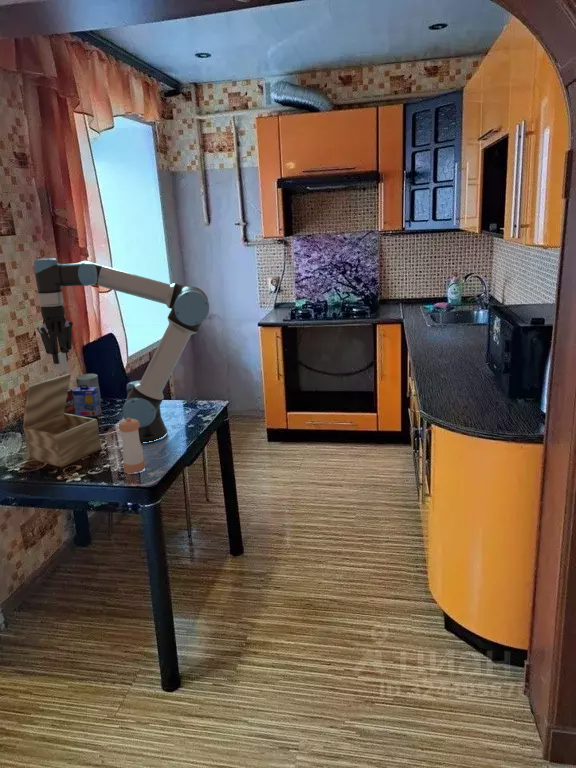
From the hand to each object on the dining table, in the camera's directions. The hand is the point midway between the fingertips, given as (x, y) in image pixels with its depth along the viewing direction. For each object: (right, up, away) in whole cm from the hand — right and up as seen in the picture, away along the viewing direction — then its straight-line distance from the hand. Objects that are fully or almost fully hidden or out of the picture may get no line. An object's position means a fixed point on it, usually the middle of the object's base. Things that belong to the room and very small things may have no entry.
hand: (62, 371), depth 196 cm
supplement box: (-14, -23, +39) cm, 48 cm away
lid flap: (-9, -10, +8) cm, 16 cm away
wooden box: (-4, -31, +12) cm, 33 cm away
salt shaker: (+27, -34, -5) cm, 44 cm away
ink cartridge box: (-11, -18, +55) cm, 59 cm away
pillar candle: (-15, -14, +71) cm, 74 cm away
